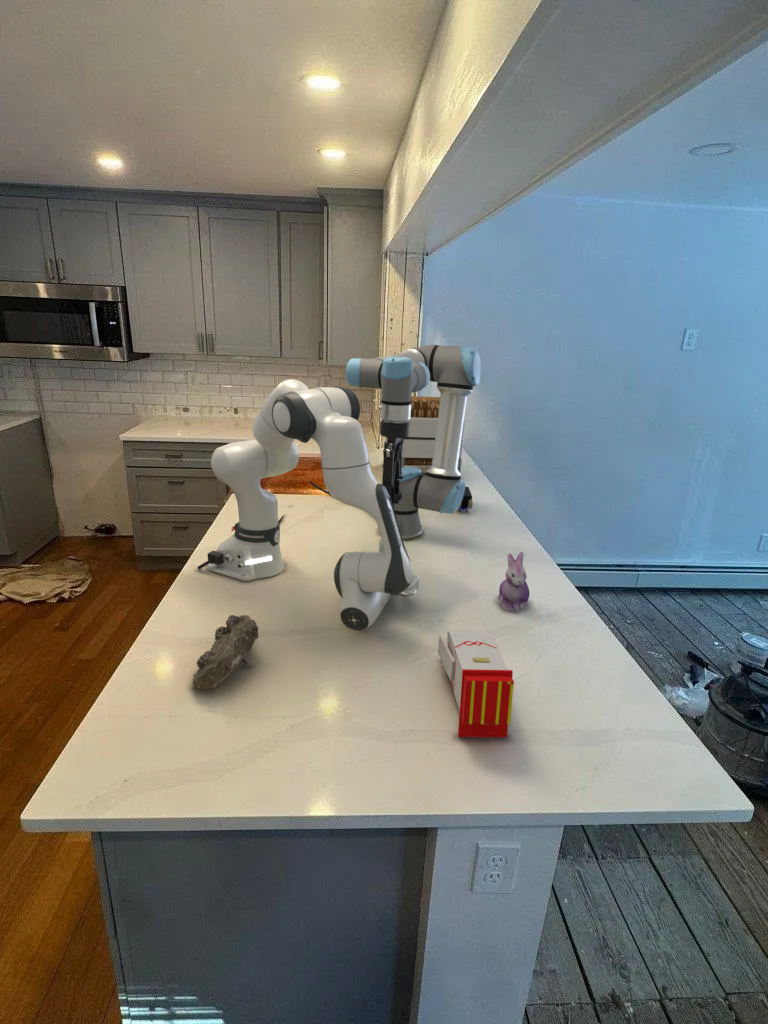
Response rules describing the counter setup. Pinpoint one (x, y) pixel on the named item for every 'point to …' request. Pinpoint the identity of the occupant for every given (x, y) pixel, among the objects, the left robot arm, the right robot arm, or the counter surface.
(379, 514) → the left robot arm
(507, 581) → the figurine
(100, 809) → the counter surface
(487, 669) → the toy
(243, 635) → the fossil
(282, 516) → the feather
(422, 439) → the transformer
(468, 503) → the figurine character
